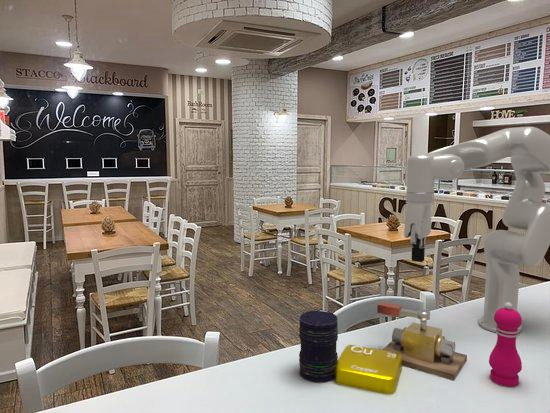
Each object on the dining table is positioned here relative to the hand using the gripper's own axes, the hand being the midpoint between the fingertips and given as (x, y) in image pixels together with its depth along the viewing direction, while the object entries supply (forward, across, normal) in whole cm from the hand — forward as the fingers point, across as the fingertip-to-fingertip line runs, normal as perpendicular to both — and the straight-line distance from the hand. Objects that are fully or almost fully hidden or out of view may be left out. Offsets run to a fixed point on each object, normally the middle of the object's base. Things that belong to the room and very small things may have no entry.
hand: (417, 260), depth 125 cm
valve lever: (+14, +9, 0) cm, 17 cm away
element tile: (+26, +25, -4) cm, 36 cm away
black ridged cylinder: (+25, +32, -14) cm, 43 cm away
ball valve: (+24, +9, +5) cm, 26 cm away
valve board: (+25, +9, +5) cm, 27 cm away
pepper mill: (+25, +8, +25) cm, 36 cm away
